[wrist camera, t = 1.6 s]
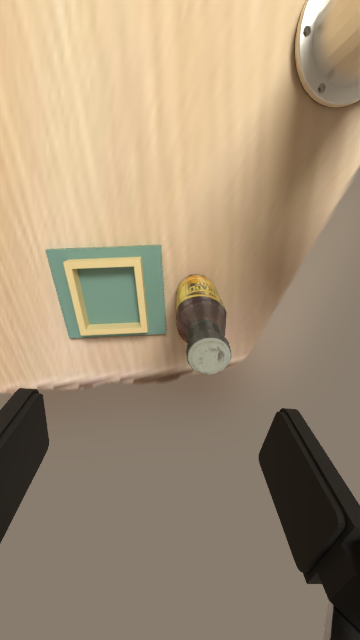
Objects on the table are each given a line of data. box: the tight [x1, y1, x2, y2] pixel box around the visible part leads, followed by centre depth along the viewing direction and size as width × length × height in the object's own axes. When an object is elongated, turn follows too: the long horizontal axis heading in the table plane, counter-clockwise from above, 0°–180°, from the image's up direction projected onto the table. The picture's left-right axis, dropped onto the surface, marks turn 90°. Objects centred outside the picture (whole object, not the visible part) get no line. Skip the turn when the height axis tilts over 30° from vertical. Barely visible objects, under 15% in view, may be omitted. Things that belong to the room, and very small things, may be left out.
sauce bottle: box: [176, 275, 231, 375], centre depth 30 cm, size 6×6×20 cm
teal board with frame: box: [46, 245, 166, 338], centre depth 37 cm, size 17×15×3 cm
